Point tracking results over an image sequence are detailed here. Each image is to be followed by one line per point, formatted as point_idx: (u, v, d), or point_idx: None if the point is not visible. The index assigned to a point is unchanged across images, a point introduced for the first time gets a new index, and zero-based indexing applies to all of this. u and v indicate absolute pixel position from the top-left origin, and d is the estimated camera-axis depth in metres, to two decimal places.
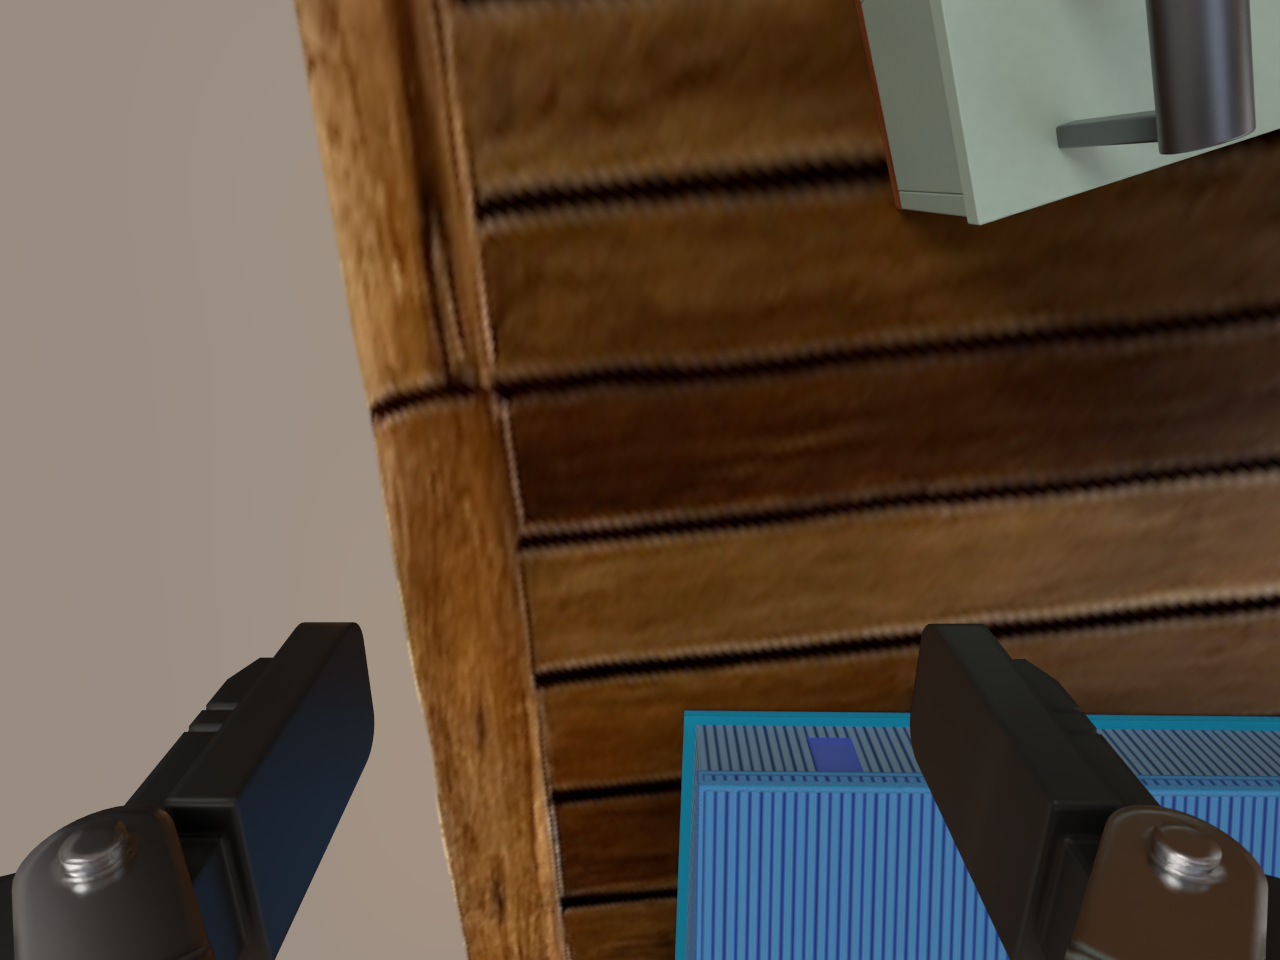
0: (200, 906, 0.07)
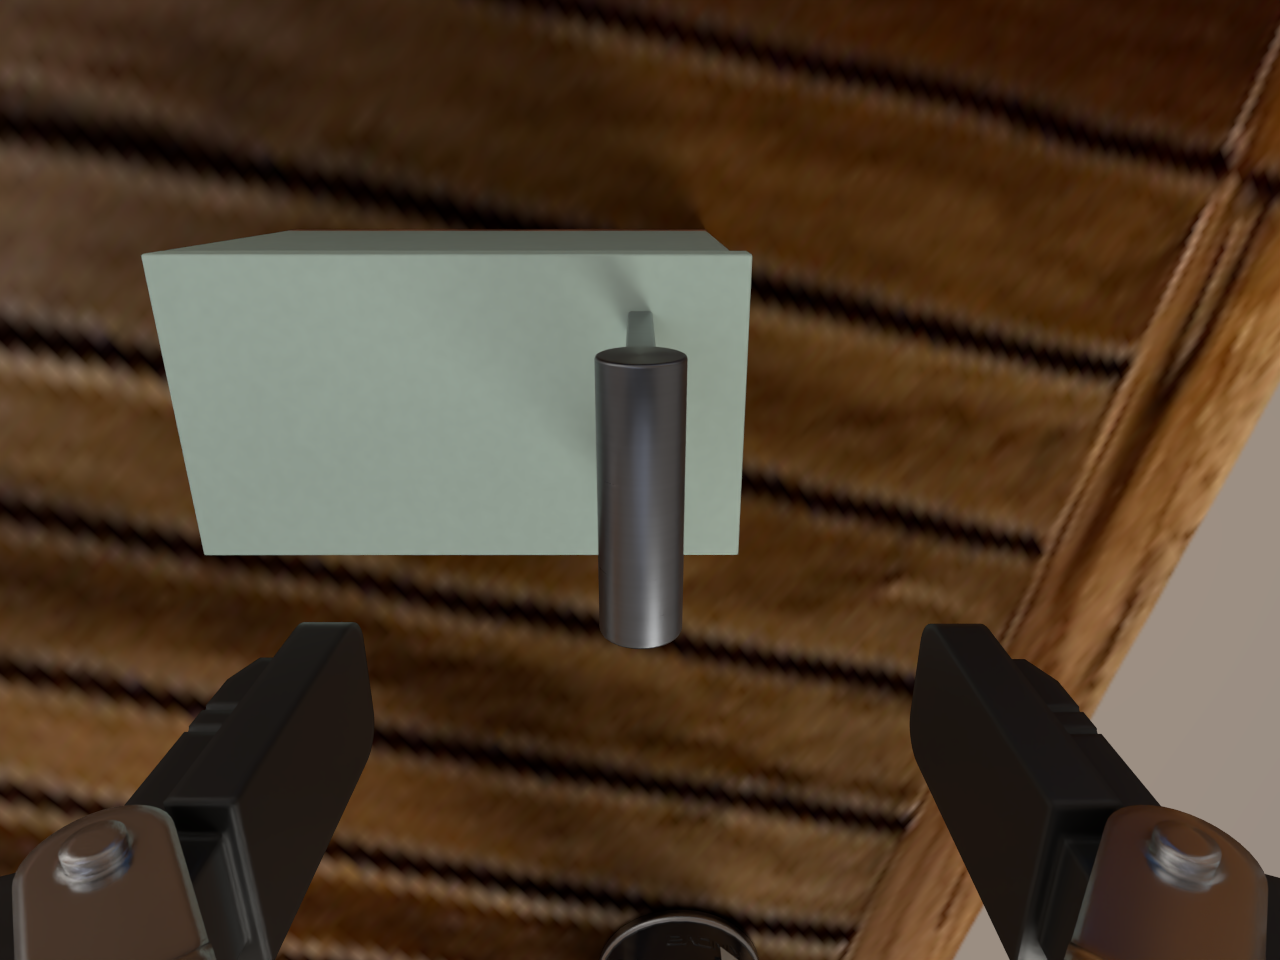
0: (200, 906, 0.07)
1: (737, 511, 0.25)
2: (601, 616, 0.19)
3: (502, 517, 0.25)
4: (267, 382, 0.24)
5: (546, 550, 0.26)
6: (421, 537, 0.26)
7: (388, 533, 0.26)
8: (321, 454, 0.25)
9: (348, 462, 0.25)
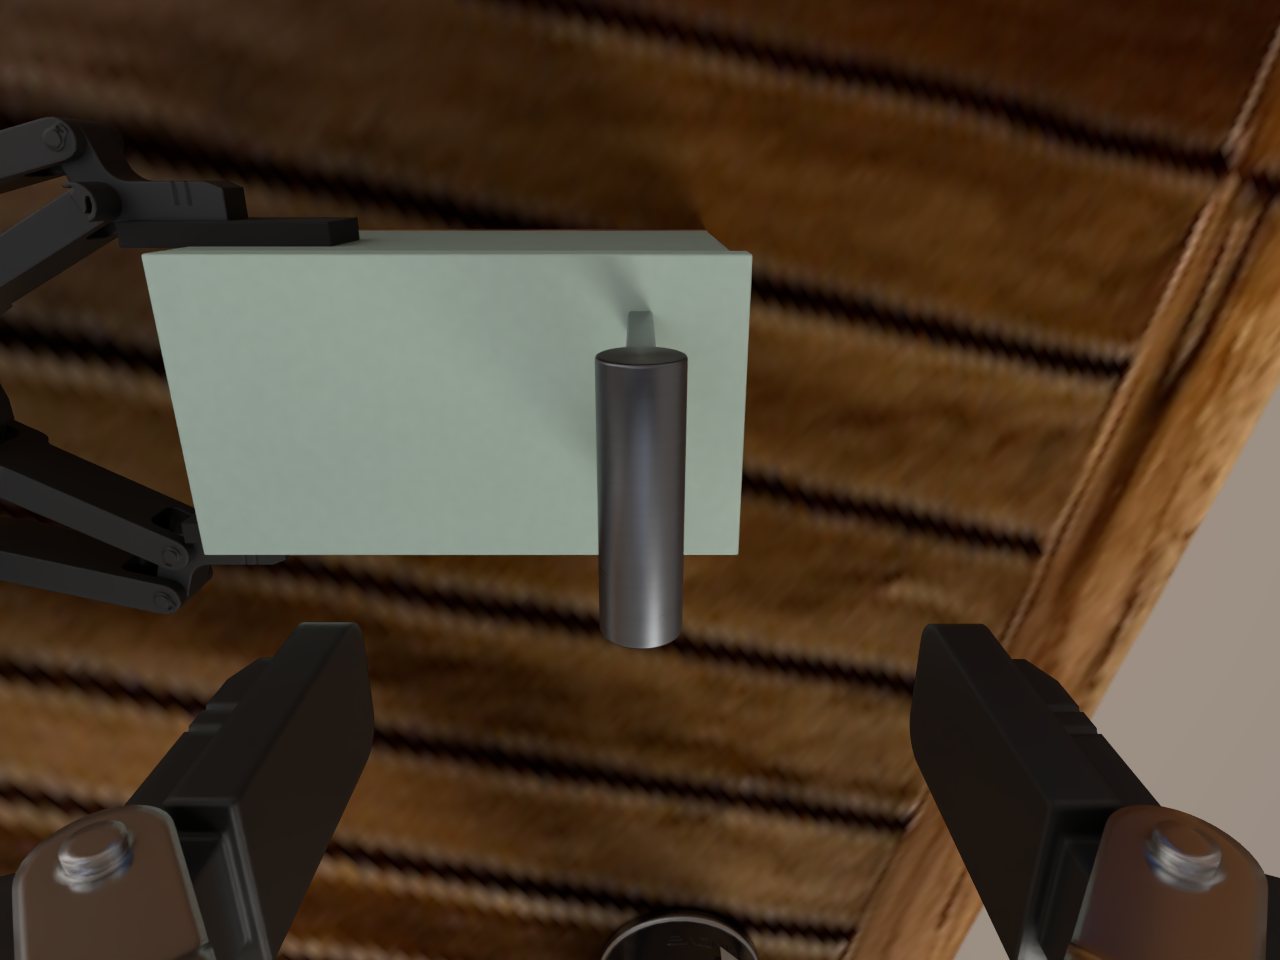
0: (200, 906, 0.07)
1: (737, 511, 0.25)
2: (601, 616, 0.19)
3: (502, 517, 0.25)
4: (267, 382, 0.24)
5: (546, 550, 0.26)
6: (421, 537, 0.26)
7: (388, 533, 0.26)
8: (321, 454, 0.25)
9: (348, 462, 0.25)
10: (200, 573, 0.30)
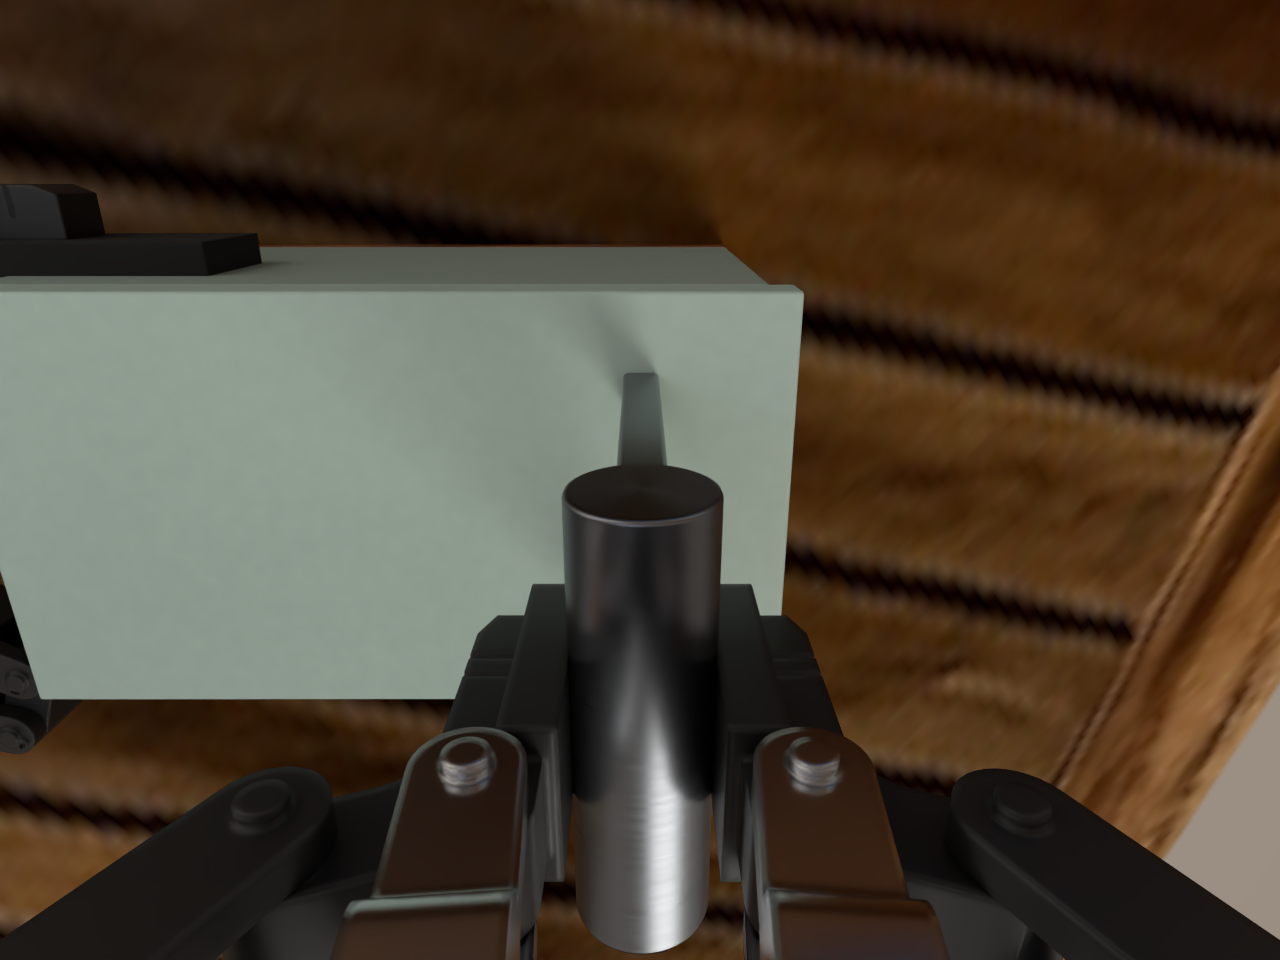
0: (537, 817, 0.09)
1: None
2: (578, 891, 0.11)
3: (449, 650, 0.18)
4: (110, 471, 0.17)
5: None
6: (338, 676, 0.19)
7: (292, 671, 0.18)
8: (193, 568, 0.18)
9: (231, 578, 0.18)
10: None
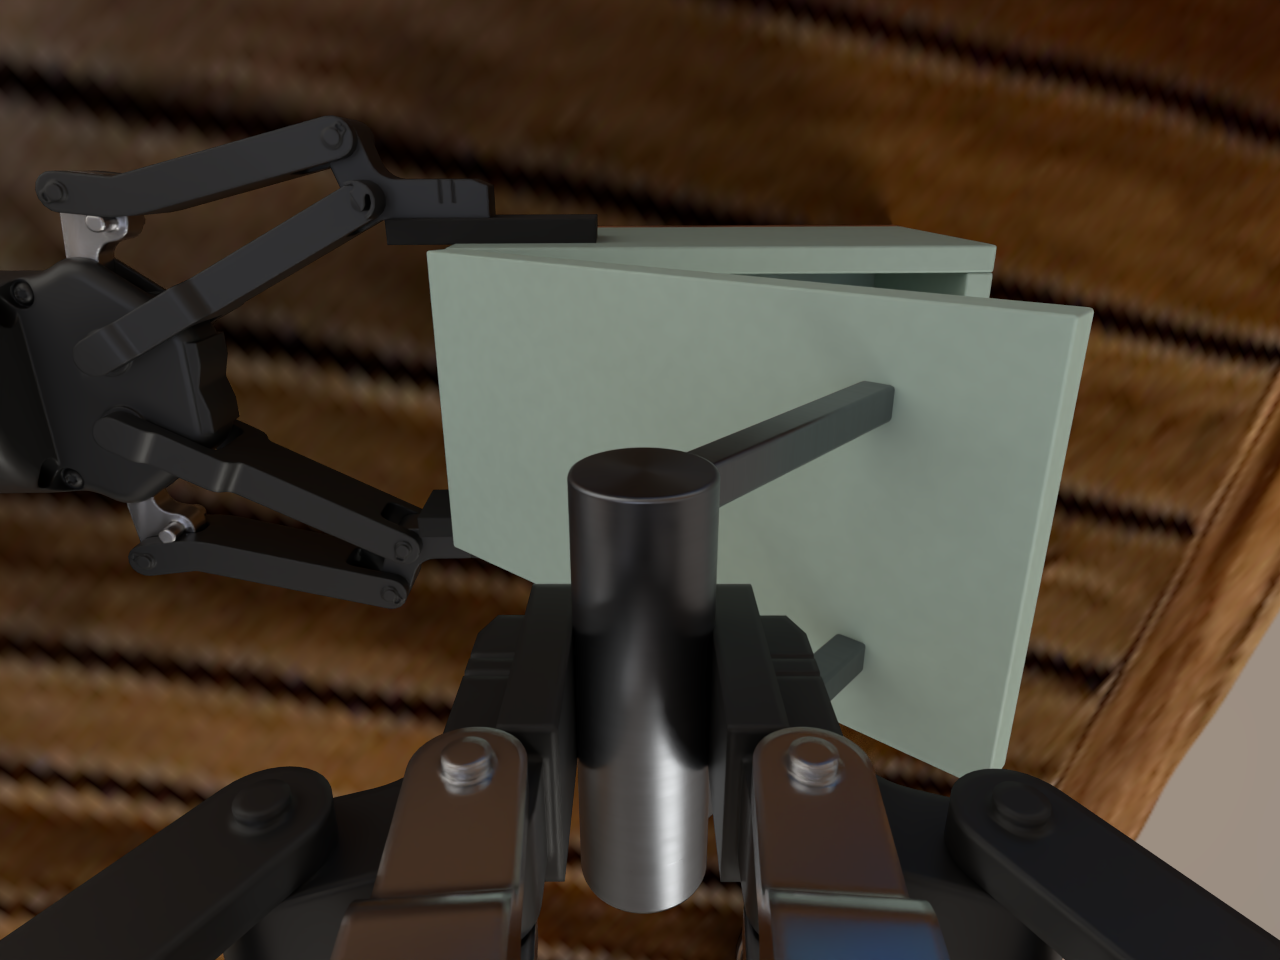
0: (538, 817, 0.09)
1: (994, 726, 0.15)
2: None
3: None
4: (501, 393, 0.23)
5: None
6: None
7: None
8: (536, 478, 0.23)
9: (556, 494, 0.22)
10: (418, 567, 0.31)
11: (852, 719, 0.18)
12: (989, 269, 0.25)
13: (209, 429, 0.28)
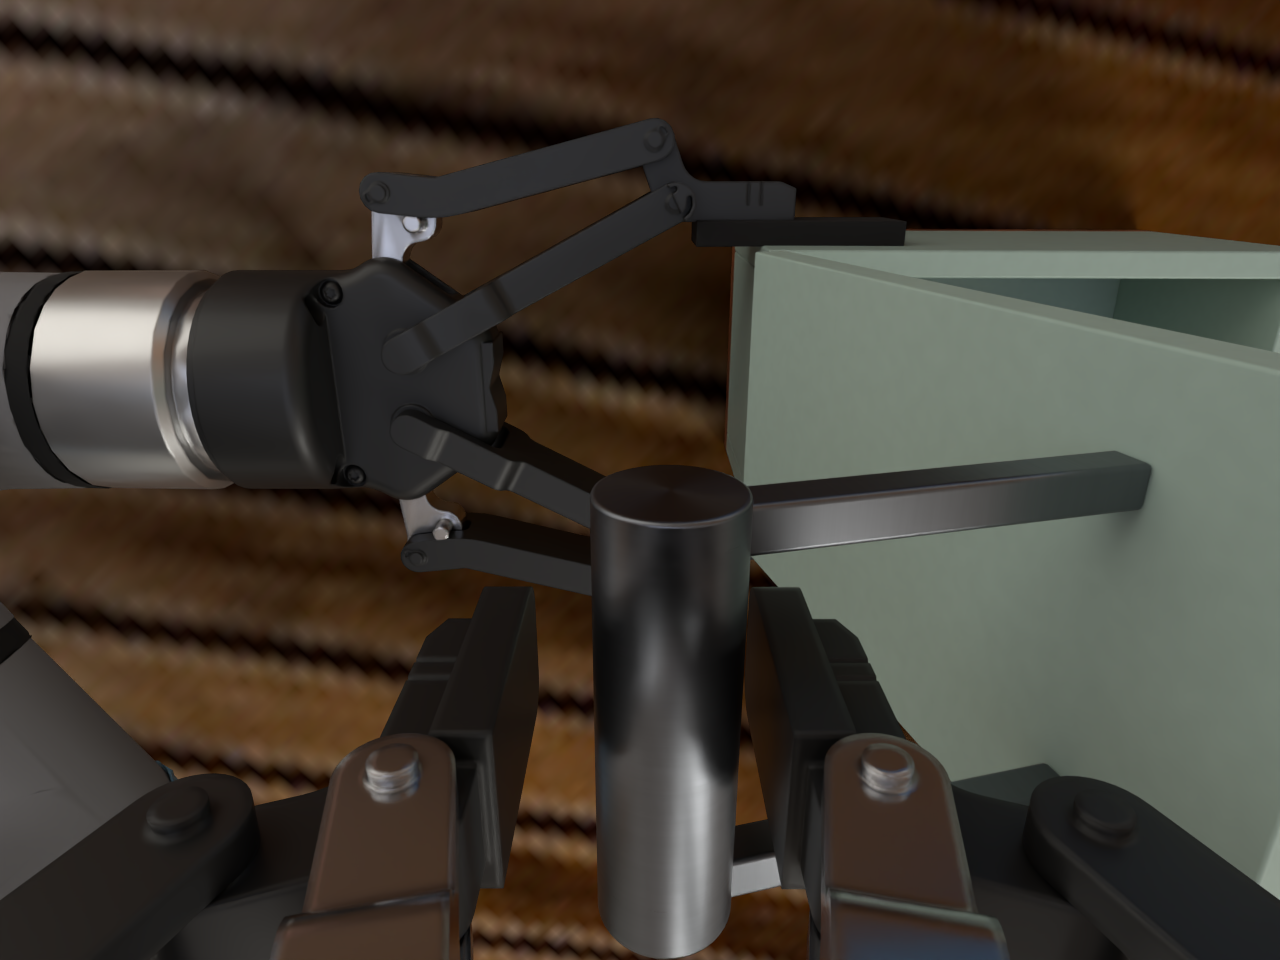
0: (469, 824, 0.08)
1: None
2: None
3: (907, 674, 0.17)
4: (789, 400, 0.22)
5: (936, 757, 0.17)
6: None
7: (826, 613, 0.21)
8: None
9: None
10: None
11: None
12: None
13: (493, 428, 0.28)
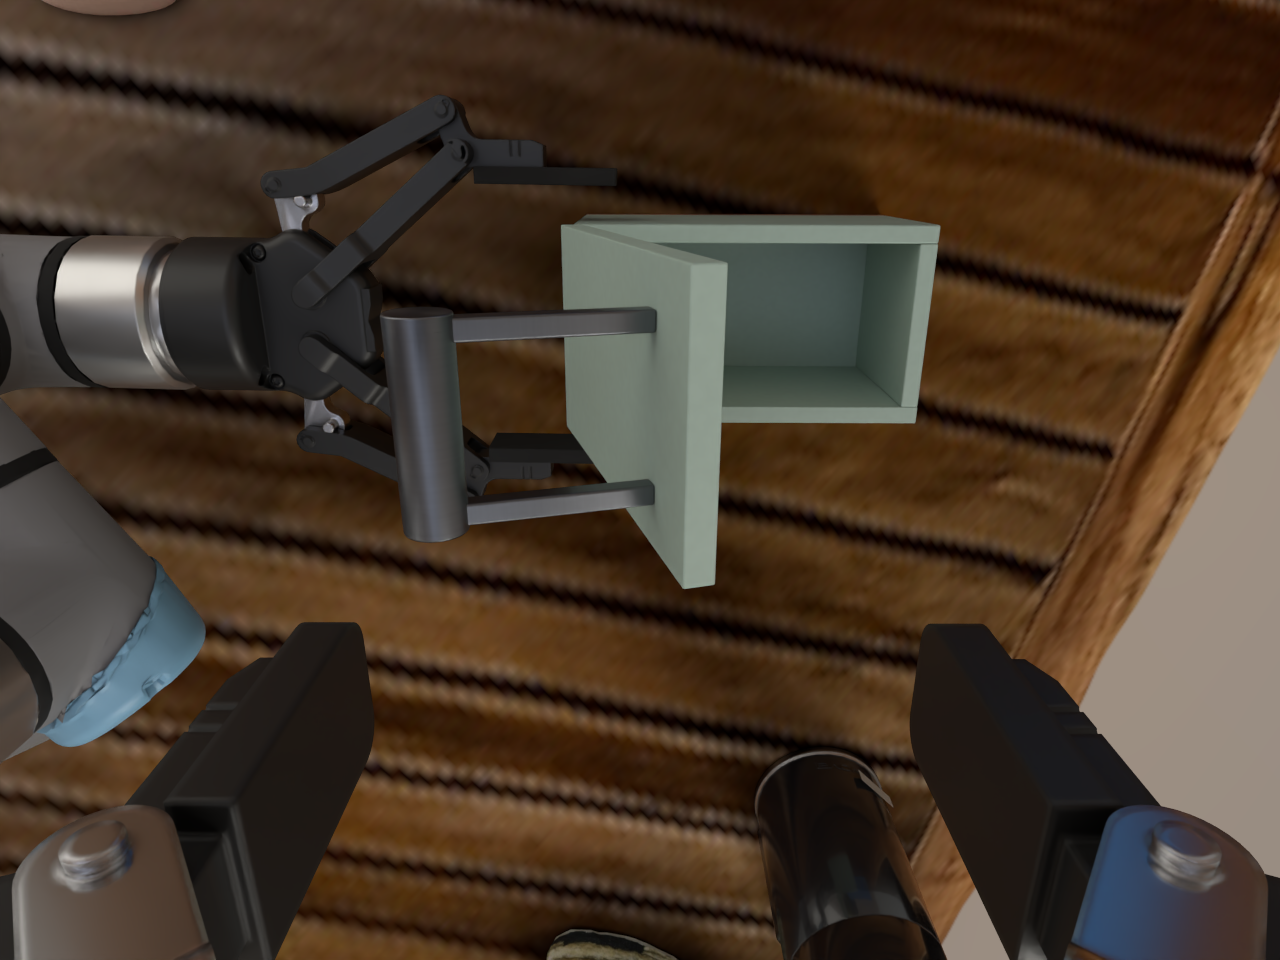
0: (200, 906, 0.07)
1: (682, 541, 0.23)
2: None
3: (617, 465, 0.30)
4: None
5: None
6: (601, 460, 0.33)
7: (595, 449, 0.33)
8: (584, 377, 0.34)
9: (588, 387, 0.33)
10: (485, 486, 0.44)
11: (653, 540, 0.26)
12: (935, 241, 0.37)
13: (372, 349, 0.40)
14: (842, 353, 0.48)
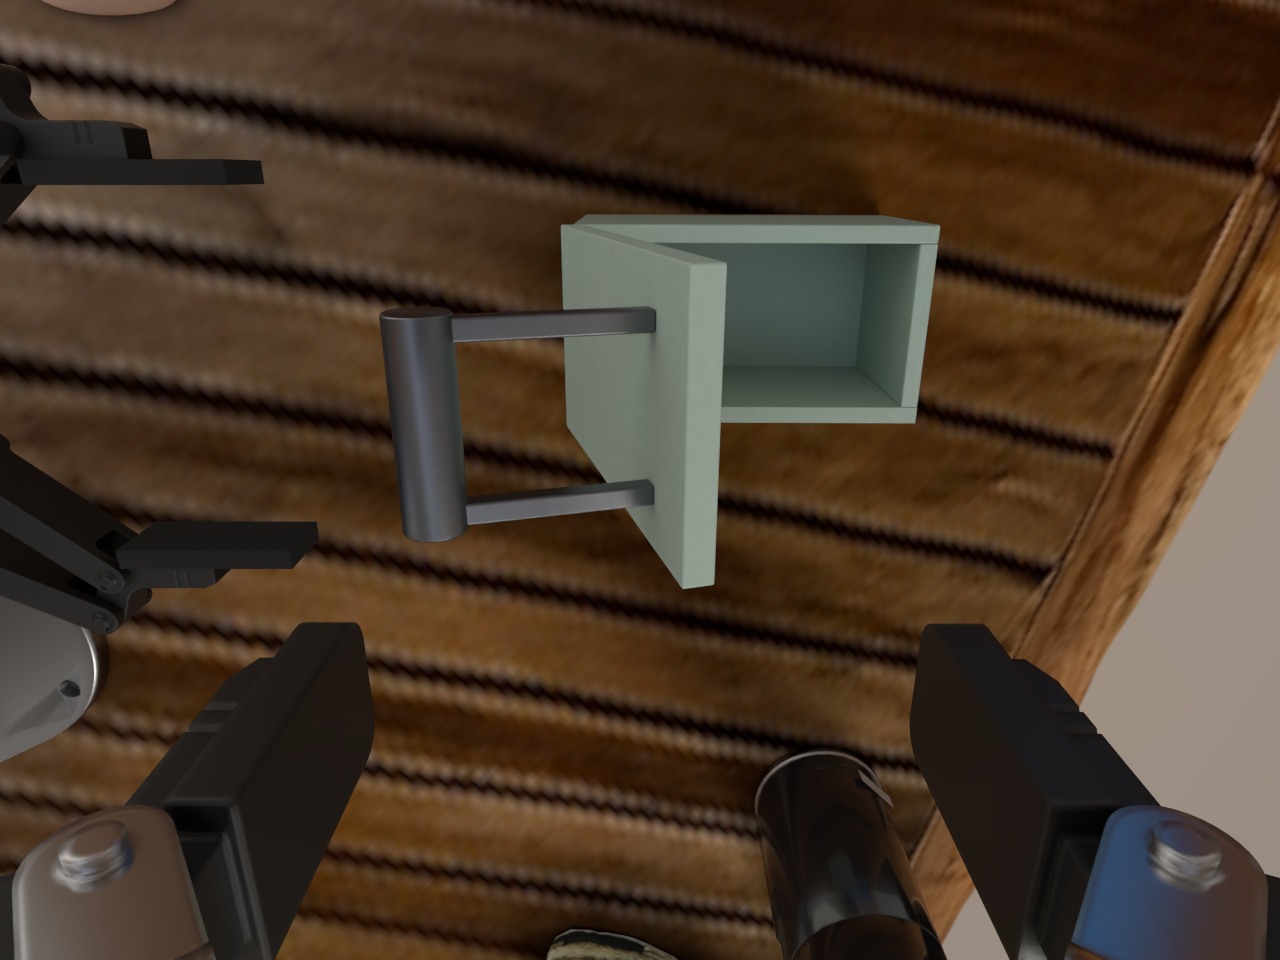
0: (200, 906, 0.07)
1: (681, 541, 0.23)
2: None
3: (617, 465, 0.30)
4: None
5: None
6: (601, 460, 0.33)
7: (594, 448, 0.33)
8: (584, 377, 0.34)
9: (588, 387, 0.33)
10: (138, 595, 0.32)
11: (652, 540, 0.26)
12: (935, 241, 0.37)
13: None
14: (842, 353, 0.48)
